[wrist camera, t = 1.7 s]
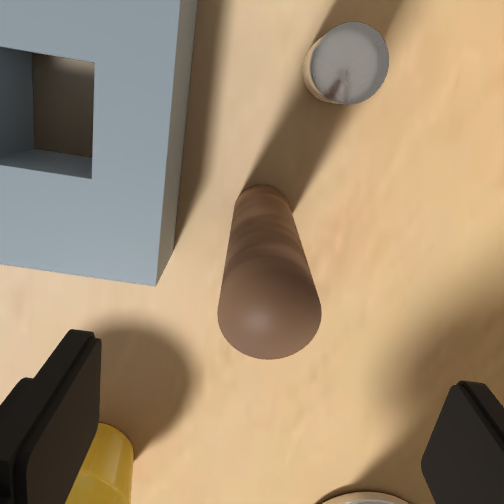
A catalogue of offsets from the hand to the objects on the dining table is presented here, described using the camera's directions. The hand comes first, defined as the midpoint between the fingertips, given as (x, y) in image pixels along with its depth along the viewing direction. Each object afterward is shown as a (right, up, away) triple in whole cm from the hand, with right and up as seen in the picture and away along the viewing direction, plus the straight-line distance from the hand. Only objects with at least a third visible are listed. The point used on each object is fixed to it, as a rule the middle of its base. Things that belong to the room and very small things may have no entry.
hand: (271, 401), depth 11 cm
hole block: (-12, +13, +17) cm, 24 cm away
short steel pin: (+5, +16, +16) cm, 23 cm away
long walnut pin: (0, +7, +19) cm, 20 cm away
